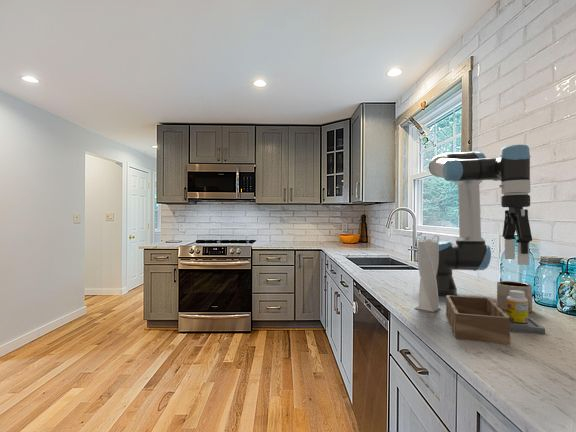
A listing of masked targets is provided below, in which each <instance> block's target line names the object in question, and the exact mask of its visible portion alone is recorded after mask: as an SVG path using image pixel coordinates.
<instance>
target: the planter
mask: <svg viewBox="0 0 576 432" xmlns="http://www.w3.org/2000/svg"><path fill="white" fill-rule="evenodd" d="M510 290H519V291H523V292H525V298H527V299H528V314H529V313H530V312H533V287H532V284H530V283H527V282H520V281H511V280H503V281H501V280H500V281H497V282H496V305H497V306H498V307H499V308H501V309H502V310H503V311H504V312H507V297H508V296H510V294H509V291H510Z"/></svg>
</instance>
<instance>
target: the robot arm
mask: <svg viewBox="0 0 576 432" xmlns="http://www.w3.org/2000/svg"><path fill="white" fill-rule="evenodd" d="M428 170H429V173H430V175H432V176H434V177H435V178H436V177H437V178H442V179H444V180H445V181H446V182H454V184H456V186H457V187H458V188H457V189H458V193H457V194H458V222H459V223H458V225H459V227H458V228H459V232H458V233H459V236H458V238H456V240H455V244H453V242H452V241H450V240H446V241H445V240H443V241H442V240H441V241H440V240H439V241H438V245H439V262H438V270H437V275H436V280H437V287H438V296H444V297H446V296H447V295H451V296H457V294H458V288H457V286H456V283H455V280H454V277H453V271H455V270H456V271H485V270H486V269H488V267H489V266H490V262H491V259H492V250H491V246H490V245H488V244H486V240H485V239H484V238H483V237H482V228H481V226H482V225H481V223H482V222H481V198H480V197H481V196H480V195H481V194H480V192H481V191H480V184H481V183H482V182H483V181H495V182H497V181H500V182H501V183H500V184H499V185H498V186H499V188H500V190H501V191H500V192H501V194H502V196H501V198H500V200H501V201H500V203H501V207H502V208H508V209H506V210H505V211H504V221H503V222H504V223H503V230H502V237H503V240H504V260H516V251H515V250H516V248H517V265H519V266H530V243H531V242H532V241H533V237H532V232H531V225H530V220H529V210H528V209H524V208H528V207H530V206H531V195H530V193H531V154H530V147H529V146H528V145H527V144H512V145H508V146H504V147H502V148H501V150H500V156H499V157H493V158H492V157H490V158H487V157H486V155H485V153H483V152H482V151H462V152H445V153H441V154H438V155H436V156H434V157H433V158H432V159H431V160H430V162H429V164H428ZM515 234H516V236H517V238H516V236H515ZM515 240H516V241H515ZM515 243H516V244H517V245H516V244H515ZM515 245H516V246H517V247H516V246H515Z"/></svg>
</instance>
